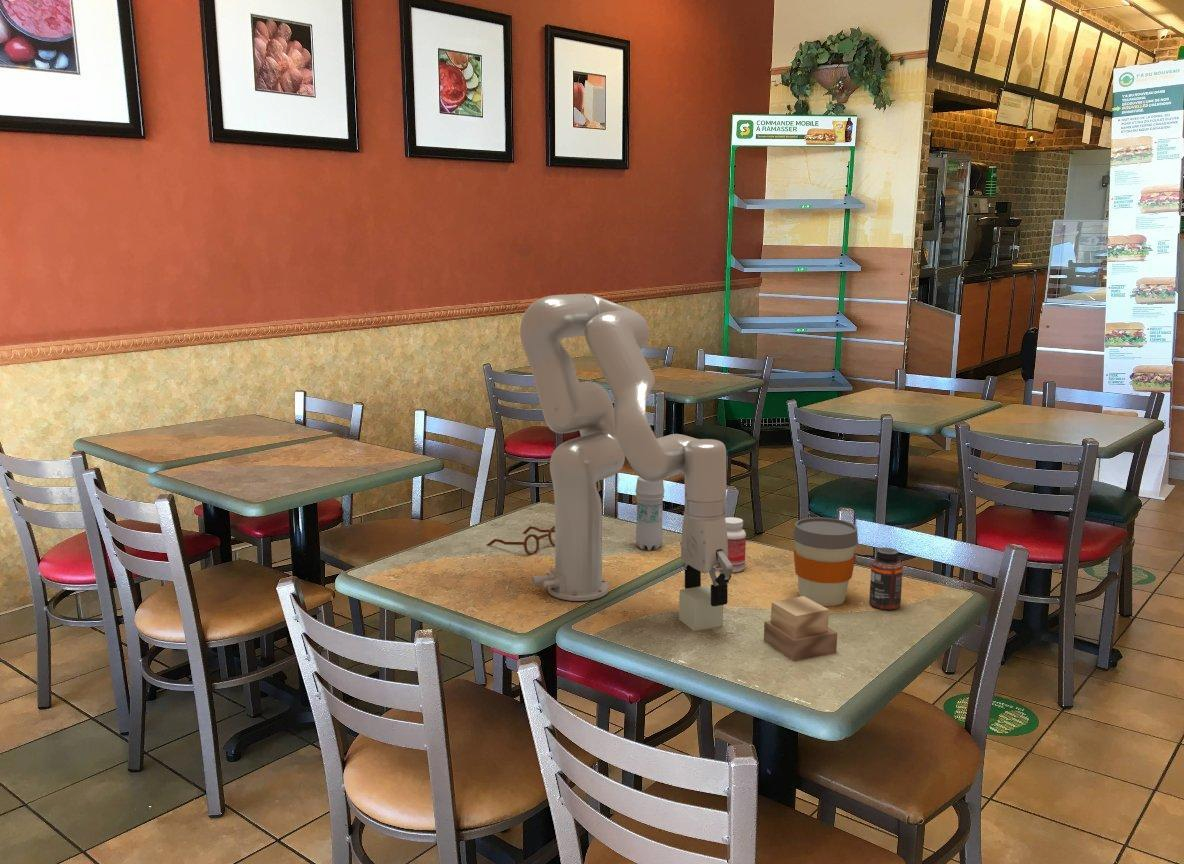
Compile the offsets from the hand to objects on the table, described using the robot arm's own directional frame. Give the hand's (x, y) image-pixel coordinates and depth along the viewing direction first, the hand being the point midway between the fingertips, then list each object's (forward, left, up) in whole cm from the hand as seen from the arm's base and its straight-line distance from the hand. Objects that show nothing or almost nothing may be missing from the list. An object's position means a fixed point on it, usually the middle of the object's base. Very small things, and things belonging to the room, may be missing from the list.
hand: (705, 596), depth 175 cm
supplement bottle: (+38, -5, -6) cm, 38 cm away
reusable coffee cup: (+29, +3, -6) cm, 29 cm away
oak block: (+10, -15, -2) cm, 18 cm away
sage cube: (0, +1, -6) cm, 6 cm away
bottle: (+11, +45, -6) cm, 46 cm away
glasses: (-16, +58, -6) cm, 60 cm away
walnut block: (+10, -15, -6) cm, 19 cm away
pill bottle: (+21, +25, -6) cm, 33 cm away
